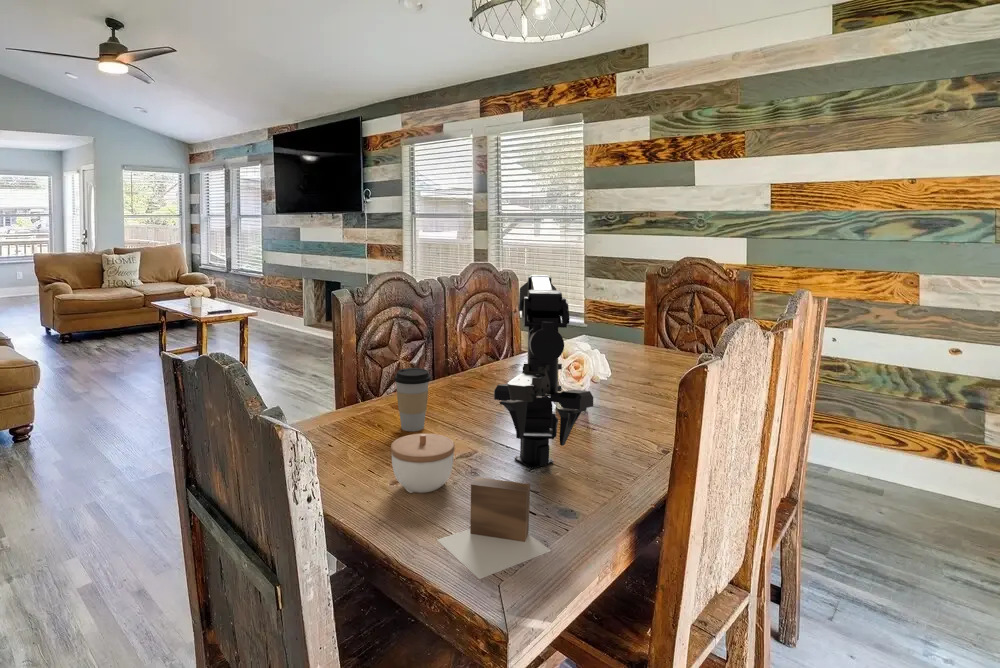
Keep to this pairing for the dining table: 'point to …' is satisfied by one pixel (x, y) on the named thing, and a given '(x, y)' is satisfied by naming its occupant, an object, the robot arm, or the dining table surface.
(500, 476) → the dining table surface
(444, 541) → the felt mat
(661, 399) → the dining table surface
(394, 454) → the lidded bowl
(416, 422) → the coffee cup
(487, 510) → the walnut slab
